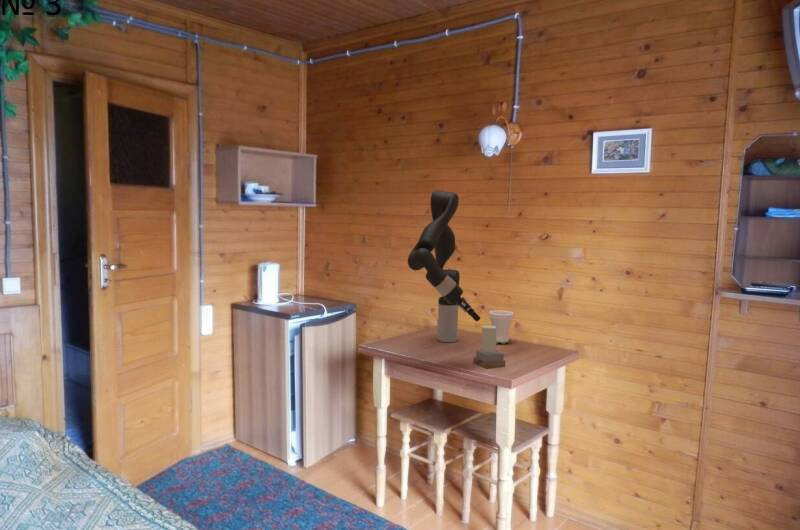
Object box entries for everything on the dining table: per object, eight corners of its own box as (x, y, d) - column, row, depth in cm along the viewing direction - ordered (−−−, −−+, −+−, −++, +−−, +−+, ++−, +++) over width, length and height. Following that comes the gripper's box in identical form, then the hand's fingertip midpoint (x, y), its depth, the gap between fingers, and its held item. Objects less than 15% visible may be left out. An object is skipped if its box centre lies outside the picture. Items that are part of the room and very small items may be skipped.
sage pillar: (481, 349, 233) (482, 325, 232) (494, 350, 232) (495, 325, 231) (482, 352, 228) (483, 327, 227) (495, 353, 227) (496, 328, 226)
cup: (494, 346, 260) (495, 315, 259) (484, 340, 271) (485, 310, 270) (516, 345, 263) (517, 314, 262) (505, 339, 274) (507, 309, 273)
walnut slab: (473, 364, 233) (473, 357, 232) (491, 362, 237) (491, 355, 237) (486, 370, 225) (486, 362, 224) (504, 367, 229) (505, 360, 229)
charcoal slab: (476, 356, 233) (476, 349, 233) (494, 355, 235) (494, 348, 235) (485, 362, 225) (485, 354, 225) (503, 360, 228) (503, 353, 227)
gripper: (458, 285, 219) (487, 314, 221) (452, 279, 233) (479, 307, 236) (444, 298, 219) (473, 328, 222) (438, 292, 233) (466, 320, 236)
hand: (476, 317), depth 229 cm, fingers open, 8 cm apart
